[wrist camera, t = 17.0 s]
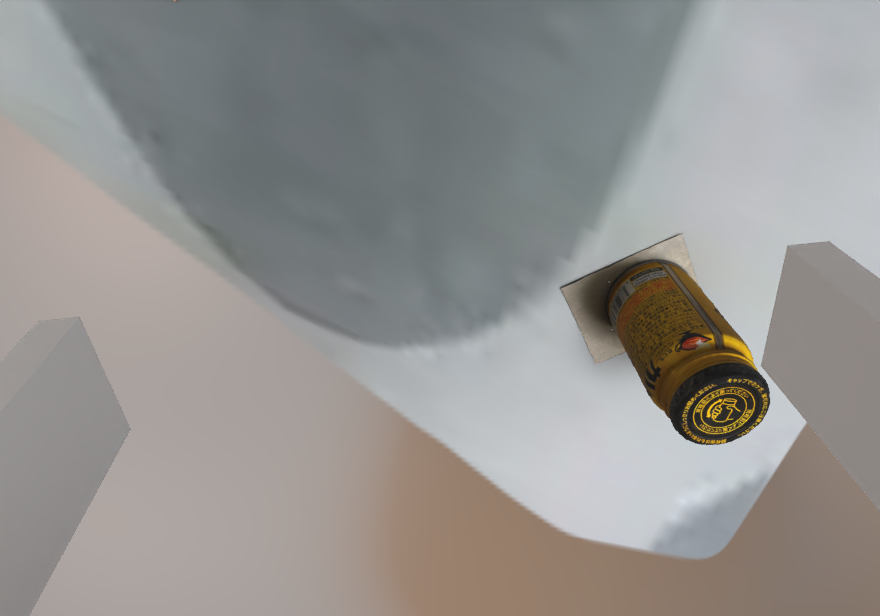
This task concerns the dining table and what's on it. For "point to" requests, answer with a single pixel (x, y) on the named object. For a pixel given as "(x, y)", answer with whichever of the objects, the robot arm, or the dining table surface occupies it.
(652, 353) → the condiment
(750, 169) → the dining table surface
